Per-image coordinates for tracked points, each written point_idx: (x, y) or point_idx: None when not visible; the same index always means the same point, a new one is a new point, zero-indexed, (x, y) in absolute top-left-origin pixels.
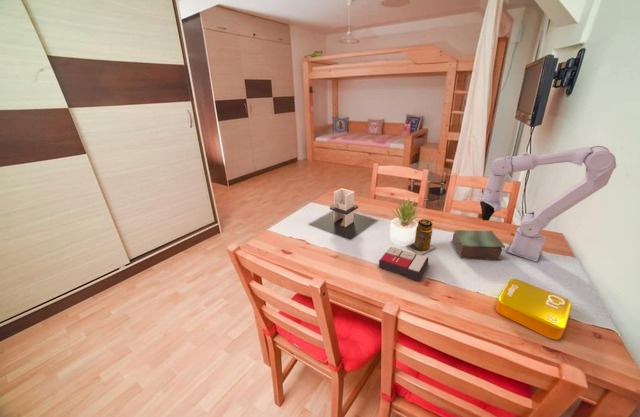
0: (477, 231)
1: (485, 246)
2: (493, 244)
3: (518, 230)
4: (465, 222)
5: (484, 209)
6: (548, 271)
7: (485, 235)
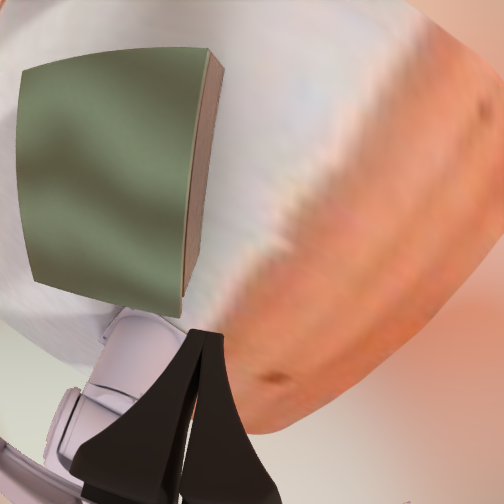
0: (169, 229)
1: (21, 191)
2: (32, 239)
3: (115, 399)
4: (424, 269)
5: (110, 432)
6: (66, 331)
7: (115, 252)
